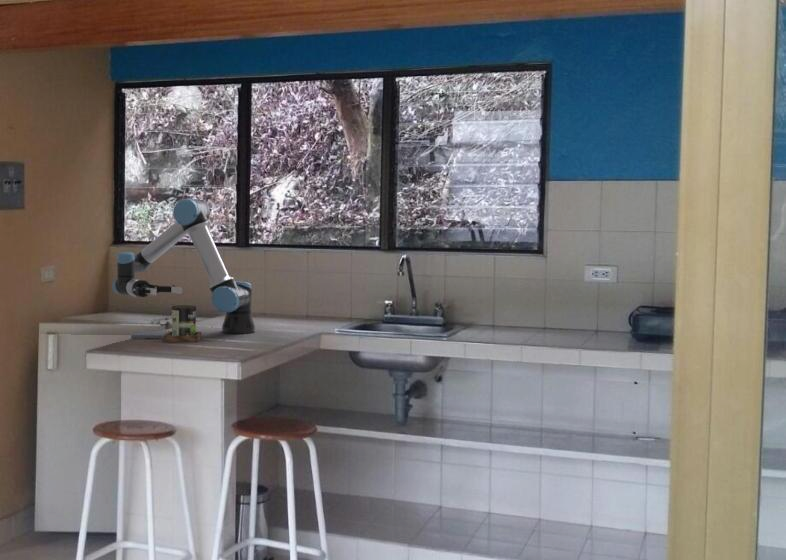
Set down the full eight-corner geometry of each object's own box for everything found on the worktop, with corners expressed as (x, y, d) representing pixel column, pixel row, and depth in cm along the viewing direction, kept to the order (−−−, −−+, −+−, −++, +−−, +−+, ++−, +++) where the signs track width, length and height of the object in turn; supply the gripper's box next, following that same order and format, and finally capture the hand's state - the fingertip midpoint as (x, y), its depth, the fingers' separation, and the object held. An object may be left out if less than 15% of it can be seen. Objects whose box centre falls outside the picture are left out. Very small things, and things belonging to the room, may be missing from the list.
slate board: (166, 334, 406) (166, 331, 406) (162, 338, 393) (162, 335, 393) (136, 334, 404) (136, 331, 404) (131, 338, 392) (131, 335, 391)
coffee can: (200, 338, 396) (200, 305, 395) (189, 341, 386) (189, 308, 385) (179, 336, 398) (178, 304, 397) (167, 340, 389) (167, 307, 387)
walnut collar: (201, 337, 400) (201, 331, 400) (198, 341, 386) (198, 335, 386) (167, 337, 398) (168, 331, 398) (163, 341, 384) (163, 335, 384)
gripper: (161, 295, 420) (191, 298, 407) (115, 298, 400) (144, 301, 387) (161, 278, 419) (191, 281, 406) (115, 280, 400) (144, 283, 387)
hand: (168, 291), depth 397 cm, fingers open, 13 cm apart
